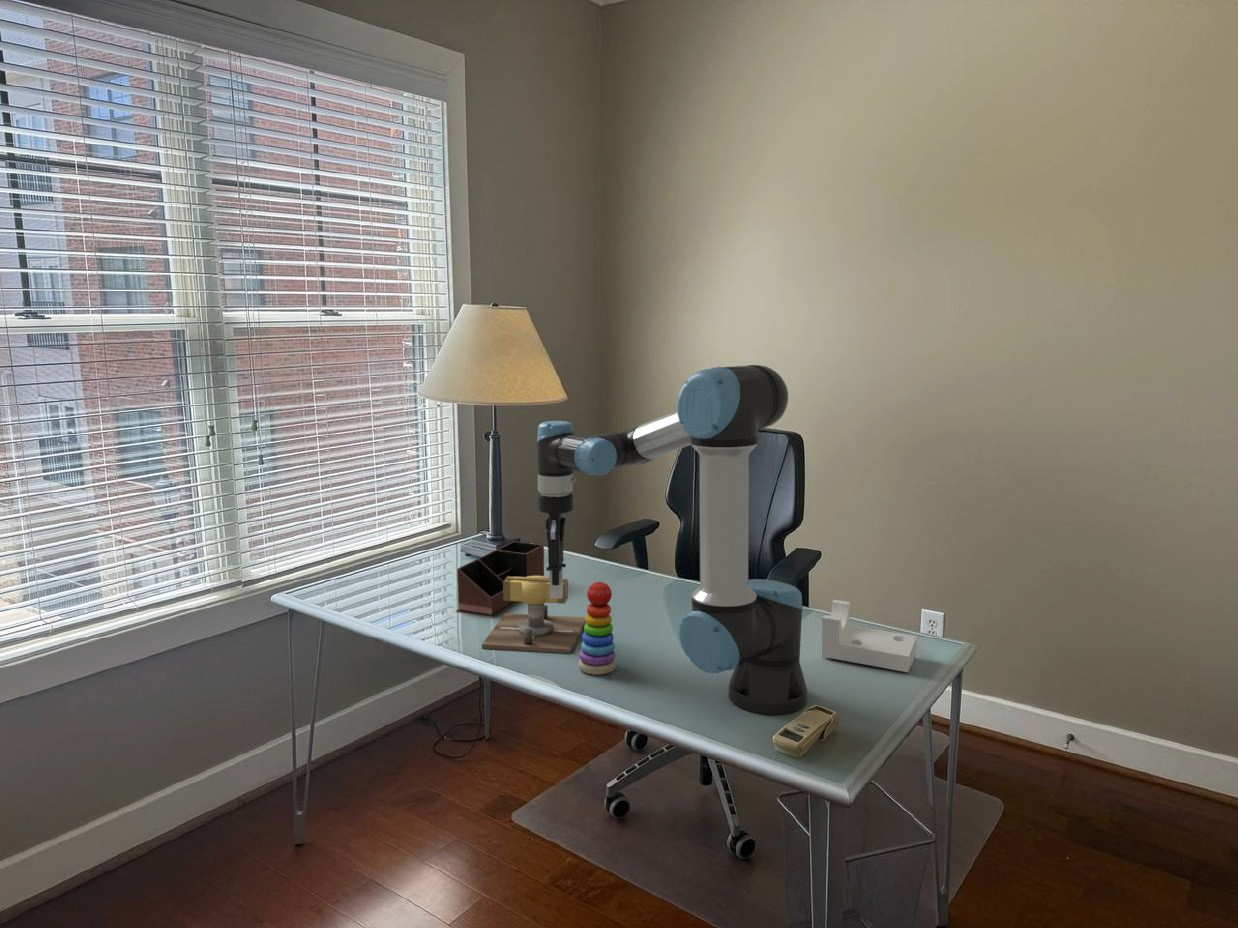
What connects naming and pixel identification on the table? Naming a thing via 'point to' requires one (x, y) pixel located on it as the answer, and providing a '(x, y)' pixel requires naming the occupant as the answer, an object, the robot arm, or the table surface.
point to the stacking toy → (598, 633)
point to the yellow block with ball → (531, 590)
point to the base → (535, 631)
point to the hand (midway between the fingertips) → (556, 597)
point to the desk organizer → (496, 577)
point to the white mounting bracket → (864, 642)
